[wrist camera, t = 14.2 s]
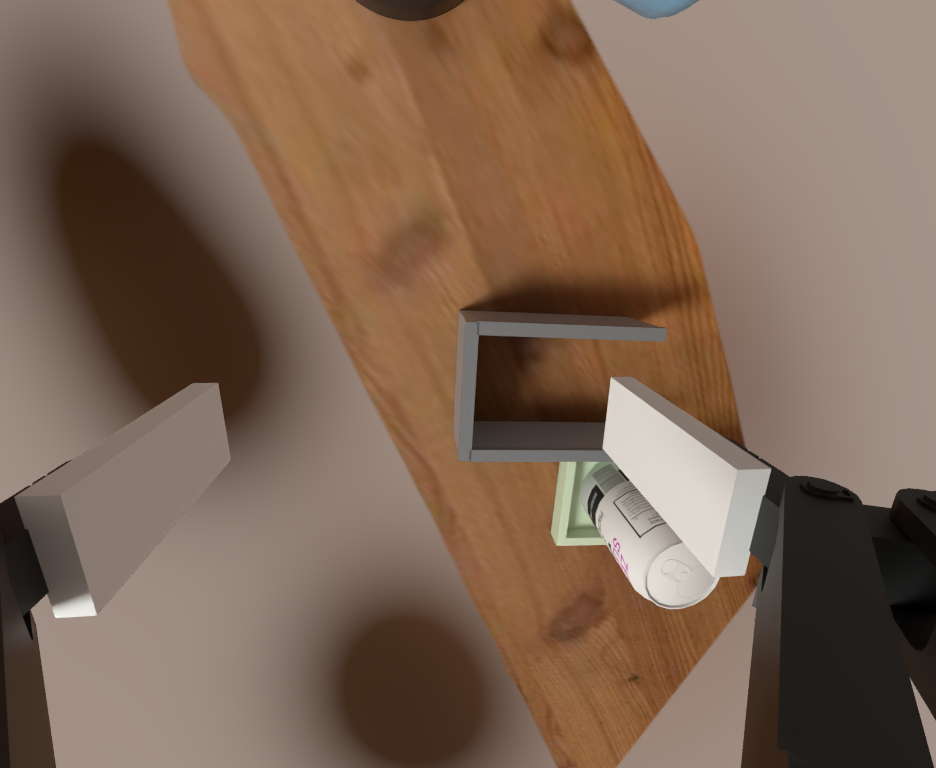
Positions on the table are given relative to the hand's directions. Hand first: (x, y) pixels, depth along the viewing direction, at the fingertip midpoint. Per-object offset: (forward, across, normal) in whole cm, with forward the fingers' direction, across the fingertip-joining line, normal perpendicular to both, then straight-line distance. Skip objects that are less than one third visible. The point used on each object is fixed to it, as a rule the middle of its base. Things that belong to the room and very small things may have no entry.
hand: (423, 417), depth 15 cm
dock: (+31, +12, -8) cm, 34 cm away
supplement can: (+30, +22, -22) cm, 43 cm away
